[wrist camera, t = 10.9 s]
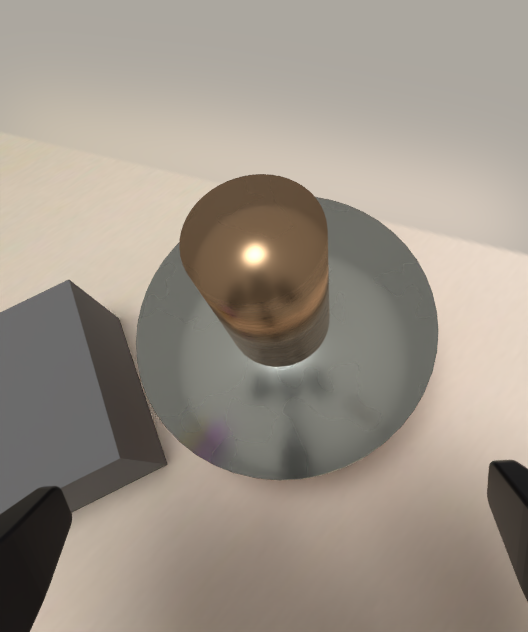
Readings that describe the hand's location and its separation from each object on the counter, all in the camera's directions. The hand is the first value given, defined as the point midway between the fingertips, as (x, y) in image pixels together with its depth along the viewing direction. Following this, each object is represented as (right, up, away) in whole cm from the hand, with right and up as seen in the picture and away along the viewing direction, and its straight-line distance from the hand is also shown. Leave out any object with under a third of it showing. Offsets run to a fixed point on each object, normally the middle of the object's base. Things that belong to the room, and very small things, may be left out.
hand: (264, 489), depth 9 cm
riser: (-11, -2, +14) cm, 18 cm away
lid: (+1, +3, +9) cm, 9 cm away
